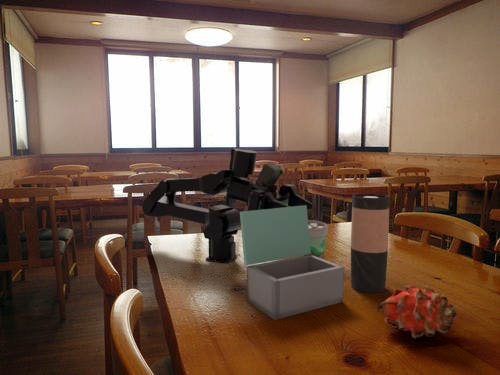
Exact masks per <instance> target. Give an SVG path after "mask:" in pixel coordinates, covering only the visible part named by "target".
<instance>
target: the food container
mask: <svg viewBox="0 0 500 375" xmlns="http://www.w3.org/2000/svg"><path fill="white" fill-rule="evenodd" d="M308 227H309V237H310V248H311V254H307V255H313V256H316V257H319V258H321V259H324V260H325V249H326V240H327V239H326V237H327V235H329V227H328V226H327V223H325V222H323V221H318V220H312V219H311V220H310V219H308ZM302 256H306V255H302Z"/></svg>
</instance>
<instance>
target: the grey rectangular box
mask: <svg viewBox="0 0 500 375" xmlns="http://www.w3.org/2000/svg"><path fill="white" fill-rule="evenodd" d="M344 269H345V267H344V266H342V265H339V264H338V263H333V262H331V261H329V260H326V259H325V258H324V259H321V258H319V257H316V256H313V255H306V256H303V255H301V256H296V257H290V258H285V259H279V260H273V261H268V262H262V263H257V264H251V265H246V301H247V302H248V303H250V304H251V305H253V306H254V307H255V308H257V309H259V310H260V311H261V312H262V313H263V314H266V315H267V316H268V317H269V318H271V319H272V320H274V321H277V320H281V319H284V318H288V317H292V316H297V315H300V314H302V313H306V312H307V313H308V312H310V311H314V310H318V309H321V308H325V307H328V306H333V305H336V304H340V303H343V302H344V301H343V300H344V276H345V274H344V273H345V271H344Z"/></svg>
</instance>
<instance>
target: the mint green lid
mask: <svg viewBox="0 0 500 375" xmlns="http://www.w3.org/2000/svg"><path fill="white" fill-rule="evenodd" d="M239 213H240V220H241V226H240V229H241V230H240V231H241V240H242V252H243V262H244V263H243V265H245V266H251V265H257V264H262V263H268V262H273V261H279V260H284V259H290V258H295V257H301V256H303V255H307V254H311V248H310V237H309V227H308V220H309V219H308V218H309V216H308V209H307V206H306V205H305V206H294V207H285V208H275V209H265V210H259V209H258V210H255V211H247V210H245V211H239Z"/></svg>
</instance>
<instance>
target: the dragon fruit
mask: <svg viewBox="0 0 500 375" xmlns="http://www.w3.org/2000/svg"><path fill="white" fill-rule="evenodd" d="M423 288H425V289H423ZM423 288H422V287H416V286H415V285H411V284H410V285H405V287H404V288H401V289H399V288H398V289H395V291H394V293H393V294H392V295H391V296H390V297H388V298H386V299H385V300H384V301H382V302H380V304H379V305H378V306H377V307H376V312H379V311H381V312H382V313H383V314H384V315H386V317H384V322H385V323H386V324H387V325H389V326H390V327H391V328H393V329H397V328H398V330H401V331H404V332H411V337H412V338H413V339H417V338H420V337H423V336H424V335H425V336H426V337H427V338H428V337H429V338H430V337H431V338H432V337H434V335H436V332H437V331H438V332H439V333H442V334H443V333H444V334H446V333H449V330H450V329H451V328H452V326H453V323H454V320H455V318H456V316H457V315H458V313H457V311H455V307H454V305H453V304H452V303H451V302H450V301H449V300H448V297H446V296H445V295H442V294H440V293H436V291H435V290H434V289H432V288H431V287H430V286H428V285H423ZM387 315H388V316H387Z"/></svg>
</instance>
